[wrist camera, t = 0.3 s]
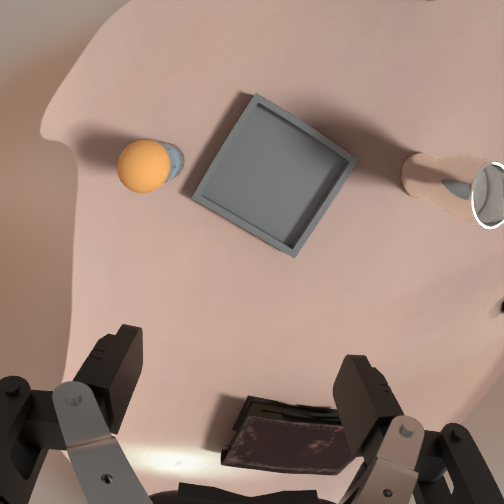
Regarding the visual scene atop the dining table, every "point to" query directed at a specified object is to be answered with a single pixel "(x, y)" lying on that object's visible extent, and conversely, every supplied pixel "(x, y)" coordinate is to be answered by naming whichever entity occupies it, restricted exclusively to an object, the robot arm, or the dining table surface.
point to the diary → (288, 439)
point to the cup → (173, 159)
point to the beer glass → (458, 186)
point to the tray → (275, 176)
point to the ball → (143, 166)
